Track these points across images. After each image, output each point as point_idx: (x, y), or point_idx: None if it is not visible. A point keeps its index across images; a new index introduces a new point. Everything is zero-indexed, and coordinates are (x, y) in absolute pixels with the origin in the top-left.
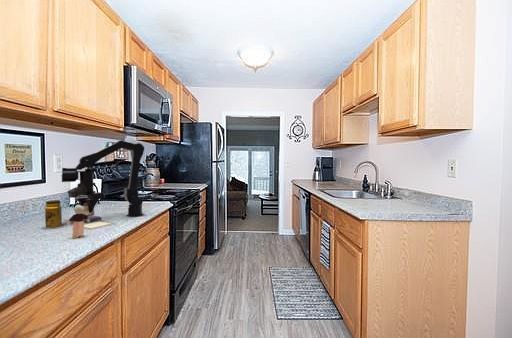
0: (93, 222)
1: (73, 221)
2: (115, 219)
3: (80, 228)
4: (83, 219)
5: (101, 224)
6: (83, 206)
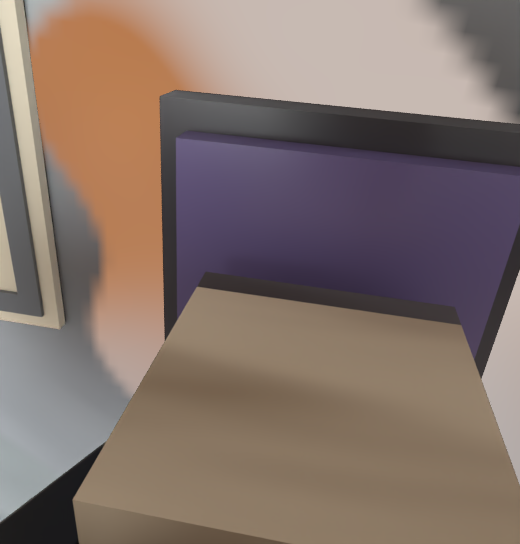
0: (2, 193)
1: (506, 127)
2: (7, 471)
3: None
4: (176, 159)
5: None
6: (232, 515)
